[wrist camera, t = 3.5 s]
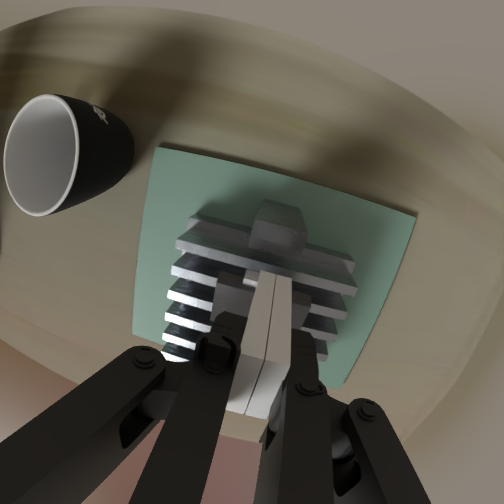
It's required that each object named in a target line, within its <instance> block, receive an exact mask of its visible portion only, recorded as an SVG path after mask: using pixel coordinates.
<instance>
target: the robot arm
mask: <svg viewBox="0 0 504 504" xmlns="http://www.w3.org/2000/svg"><path fill="white" fill-rule="evenodd" d="M275 277H276V278H275ZM291 304H292V278H288V277H284V276H280V275H276V274H273V273H269V272H266V271H262V270H261V271H260V275H259V279H258V282H257V286H256V290H255V293H254V297H253V301H252V304H251V308H250V311H249V315H248V317H245V316H241V315H237V314H234V313H230V312H227V311H223V312H222V313H220V314H219V315H217V316H216V318H215V320H214V323H213V325H212V327H211V329H210V331H209V332H206V333H204V334H201V335H200V336H199V337H198V338H197V339H196V345H195V351H194V357H193V359H192V360H189V361H185V362H173V361H166V359H165V357H164V355H163V354H162V353H161V352H160V351H158V350H157V349H155V348H152V347H149V346H134V347H132V348H130V349H128V350H126V351H125V352H123V353H122V354H121V355H119V356H118V357H117V358H115V359H114V360H113V361H111V362H110V363H109V364H107V365H106V366H104V367H103V368H102V369H100V370H99V371H98V372H96V373H95V374H94V375H92V376H91V377H90V378H88V379H87V380H85V381H84V382H83V383H81V384H80V385H79V386H77V387H76V388H75V389H73V390H72V391H71V392H69V393H68V394H66V395H65V396H64V397H62V398H61V399H60V400H58V401H57V402H56V403H54V404H53V405H52V406H50V407H49V408H47V409H46V410H45V411H44V412H42V413H41V414H39V415H38V416H37V417H35V418H34V419H32V420H31V421H30V422H28V423H27V424H25V425H24V426H23V427H21V428H20V429H19V430H17V431H16V432H14V433H13V434H12V435H10V436H9V437H8V438H6V439H5V440H3V441H2V442H1V443H0V504H81V503H82V502H83V501H84V500H85V499H86V498H87V497H88V496H89V495H90V494H91V493H92V492H93V491H94V490H95V489H96V488H97V487H98V486H99V485H100V484H101V483H102V482H103V481H104V480H105V479H106V478H107V477H108V476H109V475H110V474H111V473H112V472H113V471H114V470H115V469H116V468H117V467H118V465H119V464H120V463H121V462H122V461H123V460H124V459H125V458H126V457H127V456H128V455H129V454H130V453H131V452H132V451H133V450H134V449H135V447H137V445H138V444H139V443H140V442H141V441H142V440H143V439H144V438H145V437H146V436H147V435H148V434H149V433H150V431H151V430H152V429H153V428H154V427H155V426H156V425H157V424H158V423H159V421H160V420H165V423H164V425H163V427H162V429H161V432H160V434H159V436H158V438H157V440H156V443H155V445H154V447H153V449H152V452H151V454H150V456H149V458H148V461H147V463H146V465H145V467H144V469H143V472H142V474H141V476H140V479H139V481H138V483H137V485H136V488H135V490H134V492H133V494H132V497H131V499H130V501H129V504H200V502H201V499H202V495H203V492H204V488H205V484H206V481H207V477H208V473H209V470H210V466H211V462H212V459H213V455H214V451H215V447H216V444H217V440H218V436H219V432H220V429H221V425H222V421H223V417H224V413H225V410H228V411H232V412H236V413H240V414H244V413H245V415H248V416H252V417H257V418H261V419H267V417H268V414H269V412H270V414H269V422H268V424H267V426H266V428H265V430H264V432H263V434H262V436H261V438H260V440H259V443H262V442H263V444H262V452H261V459H260V465H259V471H258V478H257V484H256V491H255V497H254V503H253V504H431V502H430V500H429V498H428V496H427V494H426V492H425V490H424V488H423V486H422V484H421V482H420V480H419V478H418V476H417V474H416V472H415V470H414V468H413V466H412V464H411V462H410V460H409V458H408V456H407V454H406V452H405V450H404V449H403V446H402V444H401V442H400V441H399V439H398V437H397V435H396V433H395V431H394V429H393V427H392V425H391V424H390V422H389V420H388V418H387V416H386V414H385V412H384V411H383V409H382V408H381V407H380V406H379V405H378V404H377V403H375V402H374V401H371V400H369V399H365V398H358V399H354V400H353V401H352V402H351V403H350V404H349V405H348V404H345V403H343V402H340V401H338V400H336V399H334V398H332V397H330V396H329V395H327V390H326V387H325V385H324V384H323V383H322V382H321V381H320V380H319V374H318V363H317V357H316V356H317V352H316V342H315V339H314V338H313V336H312V335H311V333H310V332H307V331H303V330H298V329H294V328H291ZM245 410H246V412H245Z"/></svg>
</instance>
